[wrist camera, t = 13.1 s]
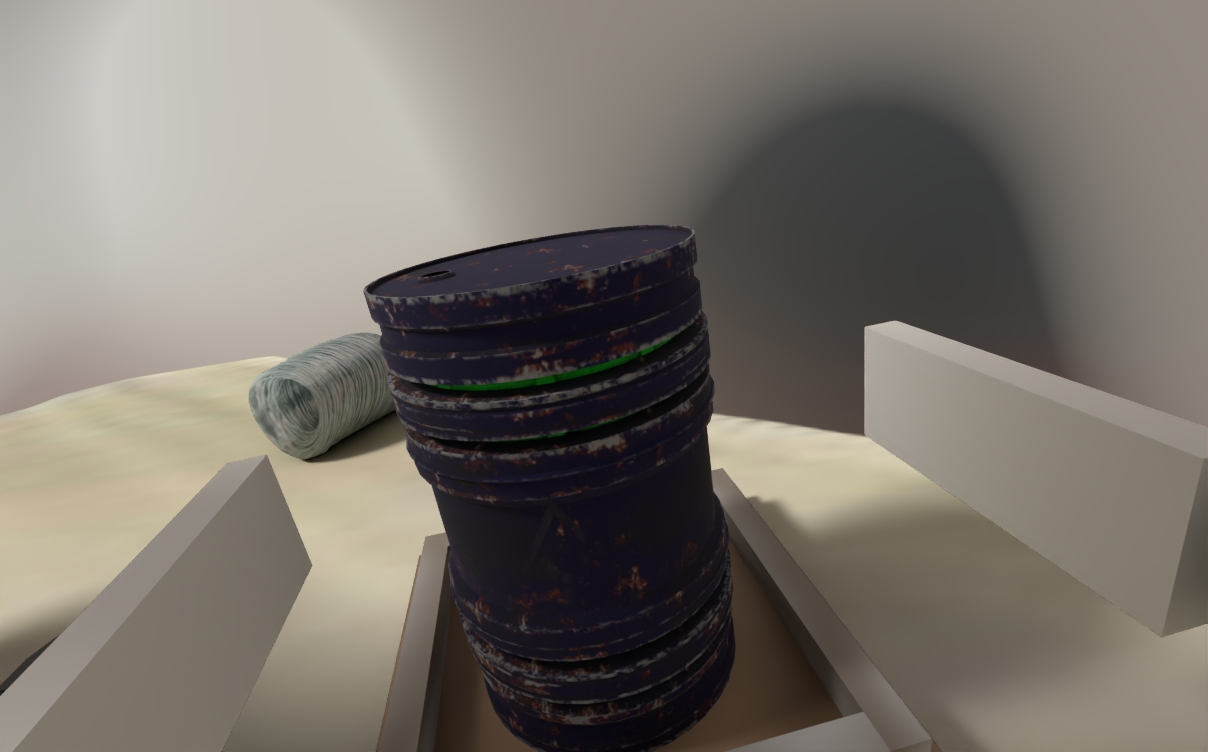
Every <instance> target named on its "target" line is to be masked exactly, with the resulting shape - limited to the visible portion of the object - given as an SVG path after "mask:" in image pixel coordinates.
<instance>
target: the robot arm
mask: <svg viewBox="0 0 1208 752" xmlns="http://www.w3.org/2000/svg"><path fill="white" fill-rule="evenodd" d="M865 435H866V436H867V437H869V438H870V439H872V440H873V441H874V442H876V443H877V444H879V445H880V446H882V447H883V448H885V449H886V450H888V451H889V452H891V453H892V454H894V455H895V456H896V457H898V458H899V459H901V460H902V461H904V462H905V463H907V464H908V465H910V466H911V467H913V468H914V469H916V470H917V471H918V472H920V473H921V474H923V475H924V476H926V477H927V478H929V479H930V480H932V481H933V482H935V483H936V484H938V485H939V486H940V487H942V488H943V489H945V490H946V491H948V492H949V493H951V494H952V495H954V496H955V497H957V498H958V499H959V500H961V501H962V502H964V503H965V504H967V505H968V506H970V507H971V508H973V509H974V510H976V511H977V512H979V513H980V514H981V515H983V516H984V517H986V518H987V519H989V520H990V521H992V522H993V523H995V524H996V525H998V526H999V527H1001V528H1002V529H1003V530H1005V531H1006V532H1008V533H1009V534H1011V535H1012V536H1014V537H1015V538H1017V539H1018V540H1020V541H1021V542H1023V543H1024V544H1025V545H1027V546H1028V547H1030V548H1031V549H1033V550H1034V551H1036V552H1037V553H1039V554H1040V555H1042V556H1043V557H1044V558H1046V559H1047V560H1049V561H1050V562H1052V563H1053V564H1055V565H1056V566H1058V567H1059V568H1061V569H1062V570H1064V571H1065V572H1066V573H1068V574H1069V575H1071V576H1072V577H1074V578H1075V579H1077V580H1078V581H1080V582H1081V583H1083V584H1084V585H1086V586H1087V587H1088V588H1090V589H1091V590H1093V591H1094V592H1096V593H1097V594H1099V595H1100V596H1102V597H1103V598H1105V599H1106V600H1108V601H1109V602H1110V603H1112V604H1113V605H1115V606H1116V607H1118V608H1119V609H1121V610H1122V611H1124V612H1125V613H1127V614H1128V615H1130V616H1131V617H1132V618H1134V619H1135V620H1137V621H1138V622H1140V623H1141V624H1143V625H1144V626H1146V627H1147V628H1149V629H1150V630H1151V631H1153V632H1154V633H1156V634H1157V635H1159V636H1160V637H1164V636H1167V635H1171V634H1174V633H1177V632H1181V631H1184V630H1187V629H1191V628H1194V627H1197V626H1201V625H1204V624H1207V623H1208V427H1205V426H1202V425H1199V424H1197V423H1193V422H1191V421H1188V420H1185V419H1182V418H1179V417H1176V416H1173V415H1170V414H1167V413H1164V412H1161V411H1158V410H1156V409H1152V408H1150V407H1147V406H1144V405H1141V404H1138V403H1135V402H1132V401H1129V400H1126V399H1123V398H1120V397H1118V396H1115V395H1112V394H1109V393H1106V392H1103V391H1100V390H1097V389H1094V388H1091V387H1088V386H1085V385H1082V384H1080V383H1077V382H1073V381H1071V380H1068V379H1065V378H1062V377H1059V376H1056V375H1053V374H1050V373H1047V372H1044V371H1042V370H1039V369H1036V368H1033V367H1030V366H1027V365H1024V364H1021V363H1018V362H1015V361H1012V360H1009V359H1006V358H1003V357H1001V356H997V355H995V354H992V353H989V352H986V351H983V350H980V349H977V348H974V347H971V346H968V345H965V344H963V343H960V342H957V341H954V340H950V339H948V338H945V337H942V336H939V335H936V334H933V333H930V332H927V331H924V330H922V329H919V328H916V327H913V326H910V325H907V324H904V323H901V322H898V321H891V322H886V323H882V324H877V325H872V326H868V327H865ZM311 567H312V563H311V561H310V559H309V556H308V554H307V551H306V549H305V546H304V544H303V542H302V539H301V537H300V534H299V532H298V529H297V527H296V524H295V522H294V520H293V517H292V515H291V512H290V510H289V507H288V505H287V503H286V500H285V498H284V495H283V493H282V490H281V488H280V486H279V483H278V481H277V478H276V476H275V473H274V471H273V469H272V466H271V464H270V461H269V459H268V456H267V455H263V456H258V457H254V458H249V459H244V460H240V461H235V462H230V463H227V464H226V465H225V466H224V467H223V468H222V469H221V470H220V471H219V472H218V473H217V474H216V475H215V476H214V477H213V478H212V479H211V480H210V481H209V482H208V483H207V484H206V485H205V486H204V487H203V488H202V489H201V490H200V492H199V493H198V494H197V495H196V496H195V497H194V498H193V499H192V500H191V501H190V502H189V503H188V504H187V505H186V506H185V507H184V508H183V509H182V510H181V511H180V512H179V513H178V514H177V515H176V516H175V517H174V518H173V519H172V520H171V521H170V522H169V523H168V524H167V525H166V526H165V527H164V529H163V530H162V531H161V532H160V533H159V534H158V535H157V536H156V537H155V538H154V539H153V540H152V541H151V542H150V543H149V544H148V545H147V546H146V547H145V548H144V549H143V550H142V551H141V552H140V553H139V554H138V555H137V556H136V557H135V558H134V559H133V560H132V561H131V562H130V563H129V564H128V566H127V567H126V568H125V569H124V570H123V571H122V572H121V573H120V574H119V575H118V576H117V577H116V578H115V579H114V580H113V581H112V582H111V583H110V584H109V585H108V586H107V587H106V588H105V589H104V590H103V591H102V592H101V593H100V594H99V595H98V596H97V597H96V598H95V599H94V600H93V601H92V603H91V604H90V605H89V606H88V607H87V608H86V609H85V610H84V611H83V612H82V613H81V614H80V615H79V616H78V617H77V618H76V619H75V620H74V621H73V622H72V623H71V624H70V625H69V626H68V627H67V628H66V629H65V630H64V631H63V632H62V633H61V634H60V635H59V636H57V637H56V638H55V639H53V640H52V641H51V642H49V643H48V644H46V645H45V646H44V647H42V648H41V649H40V650H38V651H37V652H35V653H34V654H33V655H31V656H30V657H29V658H27V659H26V660H25V661H24V662H23V663H22V664H21V665H20V666H19V667H18V668H17V669H16V670H15V671H14V672H13V673H12V674H11V675H10V676H9V677H8V678H7V679H6V680H5V681H4V682H3V683H2V684H1V685H0V752H222V750H223V748H224V746H225V743H226V741H227V739H228V737H229V735H230V733H231V731H232V729H233V727H234V725H235V723H236V721H237V719H238V717H239V715H240V713H241V711H242V709H243V707H244V705H245V702H246V700H247V698H248V696H249V694H250V692H251V690H252V688H253V686H254V684H255V682H256V680H257V678H258V676H259V674H260V672H261V670H262V668H263V666H264V664H265V661H266V659H267V657H268V655H269V653H270V651H271V649H272V647H273V645H274V643H275V641H276V639H277V637H278V635H279V633H280V631H281V629H282V627H283V625H284V623H285V620H286V618H287V616H288V614H289V612H290V610H291V608H292V606H293V604H294V602H295V600H296V598H297V596H298V594H299V592H300V590H301V588H302V586H303V584H304V581H305V579H306V577H307V575H308V573H309V571H310V569H311Z"/></svg>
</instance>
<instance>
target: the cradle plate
mask: <svg viewBox="0 0 1208 752" xmlns="http://www.w3.org/2000/svg"><path fill="white" fill-rule="evenodd" d="M711 473H712V483H713V491H714V492H715V494H716V495H717V497H718V498H719V500H720V502H721V505H722V508H723V510H724V516H725V519H726V522H727V525H728V531H729V545H728V548H729V551H730V560H731V570H732V580H733V596H732V604H731V605H732V618H733V625H734V635H735V645H736V648H735V657H734V665H733V668H732V671H731V674H730V677H729V681H728V683H727V685H726V686H725V688H724V690H723V692H722V694H721V696H720V698H719V699H718V701H717V702H716V703H715V704H714V706H713V707H712V708H711V709H710V711H709V712H708V713H707V715H706V716H704V717H703V718H702V719H701V720H700V721H699V722H698V723H697V724H696V725H695V726H694V727H693V728H691V729H690V730H689V731H687V732H686V733H684V734H683V735H681V736H680V737H678V738H677V739H675V740H674V741H672V742H671V743H669V744H667V745H665V746H662V747H660V748H658V749H656V750H654V751H651V752H942V751H941V749H940V748H939V747H938V746H937V744H936V743H935V742H934V740H933V739H932V738H931V736H930V735H929V734H928V733H927V731H926V730H925V729H924V727H923V726H922V725H921V724H920V722H919V721H918V720H917V718H916V717H915V716H914V715H913V713H912V712H911V711H910V709H909V708H908V707H907V705H906V704H905V703H904V702H903V700H902V699H901V698H900V696H899V695H898V694H897V693H896V691H895V690H894V689H893V687H892V686H891V685H890V684H889V682H888V681H887V680H886V678H885V677H884V676H883V674H882V673H881V672H880V671H879V669H878V668H877V667H876V665H875V664H874V663H873V662H872V660H871V659H870V658H869V656H868V655H867V654H866V653H865V651H864V650H863V649H862V647H861V646H860V645H859V643H858V642H857V641H856V640H855V638H854V637H853V636H852V634H851V633H850V632H849V631H848V629H847V628H846V627H845V625H844V624H843V623H842V622H841V620H840V619H839V618H838V616H837V615H836V614H835V612H834V611H833V610H832V609H831V607H830V606H829V605H828V603H827V602H826V601H825V600H824V598H823V597H822V596H821V594H820V593H819V592H818V591H817V589H816V588H815V587H814V585H813V584H812V583H811V581H810V580H809V579H808V578H807V576H806V575H805V574H804V572H803V571H802V570H801V569H800V567H799V566H798V565H797V563H796V562H795V561H794V560H793V558H792V557H791V556H790V554H789V553H788V552H787V550H786V549H785V548H784V547H783V545H782V544H781V543H780V541H779V540H778V539H777V538H776V536H775V535H774V534H773V532H772V531H771V530H770V529H769V527H768V526H767V525H766V523H765V522H764V521H763V519H762V518H761V517H760V516H759V514H758V513H757V512H756V510H755V509H754V508H753V507H752V505H751V504H750V503H749V501H748V500H747V499H746V498H745V496H744V495H743V494H742V492H741V491H740V490H739V488H738V487H737V486H736V485H735V483H734V482H733V481H732V480H731V478H730V477H729V476H728V475H727V473H726V472H725V471H724V469H723V468H721V469H717V470H713V471H711ZM450 550H451V547H450V544H449V541H448V538H447V534H446V532H445V533H441V534H436V535H432V536H428V537H425V542H424V546H423V551H422V555H420V556H419V560H418V565H417V569H416V574H415V578H414V583H413V587H412V592H411V596H410V601H409V605H408V610H407V614H406V619H405V623H404V628H403V632H402V637H401V641H400V646H399V650H398V655H397V659H396V664H395V668H394V673H393V677H392V682H391V686H390V691H389V695H388V700H387V704H386V709H385V713H384V718H383V722H382V727H381V731H380V736H379V740H378V744H377V749H376V752H539V751H537V750H534V749H533V748H531V747H530V746H528V745H526V744H525V743H523V742H522V741H520V740H519V739H517V738H516V737H515V736H514V735H513V734H512V733H511V732H510V731H509V730H508V729H507V728H506V727H505V726H504V725H503V723H502V722H501V720H500V719H499V717H498V716H497V714H496V713H495V711H494V709H493V706H492V704H491V701H490V699H489V696H488V693H487V690H486V686H485V682H484V676H483V673H482V671H481V668H480V666H479V663H478V662H477V660H476V659H475V657H474V656H473V653H472V651H471V648H470V646H469V643H468V641H467V637H466V634H465V631H464V628H463V624H462V622H461V618H460V611H459V610H458V608H457V606H456V604H455V602H454V599H453V597H452V594H451V586H450V575H449V567H448V563H449V556H450Z"/></svg>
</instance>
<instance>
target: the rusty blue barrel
mask: <svg viewBox="0 0 1208 752" xmlns="http://www.w3.org/2000/svg"><path fill="white" fill-rule="evenodd" d="M696 262H697V252H696V243H695V231H694V230H693V229H692V228H690V227H686V226H679V225H637V226H624V227H612V228H603V229H594V230H587V231H579V232H571V233H565V234H559V235H551V236H545V237H539V238H534V239H528V240H522V241H517V242H512V243H507V244H501V245H496V246H491V247H487V248H482V249H477V250H473V251H469V252H464V253H460V254H456V255H452V256H448V257H444V258H440V259H436V260H433V261H429V262H426V263H422V264H419V265H415V266H412V267H409V268H406V269H403V270H400V271H397V272H394V273H391V274H389V275H386V276H384V277H382V278H379V279H377V280H375V281H373V282H371V283H370V284H369V285H367V286H366V287H365V289H364V291H363V292H364V295H365V298H366V301H367V304H368V308H369V311H370V314H371V317H372V319H373V320H374V322H376V323H378V324H379V325H380V328H381V332H382V336H381V337H380V347H381V350H382V353H383V356H384V360H385V363H386V366H387V368H388V369H389V373H388V376H387V384H388V387H389V388H390V393H391V397H392V400H393V403H394V405H395V407H396V413H397V415H398V417H399V419H400V421H401V422H402V423H403V424H404V429H405V432H406V435H407V438H406V448H407V450H408V452H409V454H410V456H411V458H412V459H413V460H414V461H415V465H416V467H417V469H418V471H419V473H420V475H421V476H422V477H423V478H424V479H425V480H426V481H427V482H428V483H429V484H431V485H432V488H433V491H434V495H435V498H436V501H437V505H438V508H439V511H440V515H441V518H442V521H443V524H444V528H445V531H446V534H447V538H448V541H449V544H450V547H451V550H450V556H449V563H448V567H449V575H450V586H451V594H452V597H453V599H454V602H455V604H456V606H457V608H458V610H459V611H460V618H461V622H462V624H463V628H464V631H465V634H466V637H467V641H468V643H469V646H470V648H471V651H472V653H473V656H474V657H475V659H476V660H477V662H478V663H479V666H480V668H481V671H482V673H483V676H484V682H485V686H486V690H487V693H488V696H489V699H490V701H491V704H492V706H493V709H494V711H495V713H496V714H497V716H498V717H499V719H500V720H501V722H502V723H503V725H504V726H505V727H506V728H507V729H508V730H509V731H510V732H511V733H512V734H513V735H514V736H515V737H516V738H517V739H519V740H520V741H522V742H523V743H525V744H526V745H528V746H530V747H531V748H533V749H534V750H537V751H539V752H651V751H654V750H656V749H658V748H660V747H662V746H665V745H667V744H669V743H671V742H672V741H674V740H675V739H677V738H678V737H680V736H681V735H683V734H684V733H686V732H687V731H689V730H690V729H691V728H693V727H694V726H695V725H696V724H697V723H698V722H699V721H700V720H701V719H702V718H703V717H704V716H706V715H707V713H708V712H709V711H710V709H711V708H712V707H713V706H714V704H715V703H716V702H717V701H718V699H719V698H720V696H721V694H722V692H723V690H724V688H725V686H726V685H727V683H728V681H729V677H730V674H731V671H732V668H733V665H734V657H735V648H736V645H735V635H734V625H733V618H732V605H731V604H732V596H733V580H732V570H731V560H730V551H729V548H728V545H729V531H728V525H727V522H726V519H725V516H724V510H723V508H722V505H721V502H720V500H719V498H718V497H717V495H716V494H715V492H714V491H713V483H712V473H711V463H710V454H709V444H708V434H707V425H708V423H709V422H710V420H711V416H712V413H713V402H712V399H713V396H714V392H715V388H714V381H713V379H712V377H711V376H710V371H709V359H710V357H711V355H710V345H709V334H708V325H707V317H706V316H705V314H704V313H703V312H702V302H701V292H700V282H699V280H698V279H697V278H696V277H695V276H694V271H693V266H694V265H695V263H696Z"/></svg>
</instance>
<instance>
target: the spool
mask: <svg viewBox="0 0 1208 752" xmlns="http://www.w3.org/2000/svg"><path fill="white" fill-rule="evenodd" d="M380 337H381V336H380V335H377V334H372V333H356V334H350V335H345V336H342V337H339V338H337V339H333V340H329V341H326V342H324V343H321V344H318V345H316V346H314V347H311V348H309V349H307V350H305V351H303V352H301V353H299V354H297V355H295V356H292V357H291V358H289V359H287V360H286V361H284V362H281V363H280V364H278V365H276V366H275V367H273V368H271V369H269V370H266V371H264V372H262V373H261V374H260V375H259V376H258V377H257V378H256V379H255V381H254V383H253V385H252V386H251V387H250V388H249V403H250V407H251V411H252V413H253V416H254V418H255V420H256V422H257V423H258V425H259V427H260V428H261V430H262V431H263V432H264V434H265V435H266V436H267V437H268V439H269V440H270V441H271V442H272V443H273V444H274V445H276V446H277V447H278V448H279V449H280V450H281V451H283V452H285V453H287V454H289V455H291V456H293V457H296V458H299V459H308V458H311V457H315V456H318V455H321V454H323V453H325V452H326V451H327V450H328V449H329V447H331V446H333V445H334V444H336V443H338V442H339V441H340V440H341V439H343V438H345V437H347V436H349V435H351V434H352V433H354V432H355V431H357V430H359V429H361V428H363V427H365V426H367V425H368V424H370V423H372V422H373V421H375V420H378V419H380V418H381V417H383V416H384V415H386V414H389V413H391V412H392V411H394V410H395V409H396V407H395V405H394V403H393V400H392V397H391V393H390V388H389V387H388V384H387V376H388V373H389V369H388V368H387V366H386V363H385V360H384V356H383V353H382V350H381V347H380Z"/></svg>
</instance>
